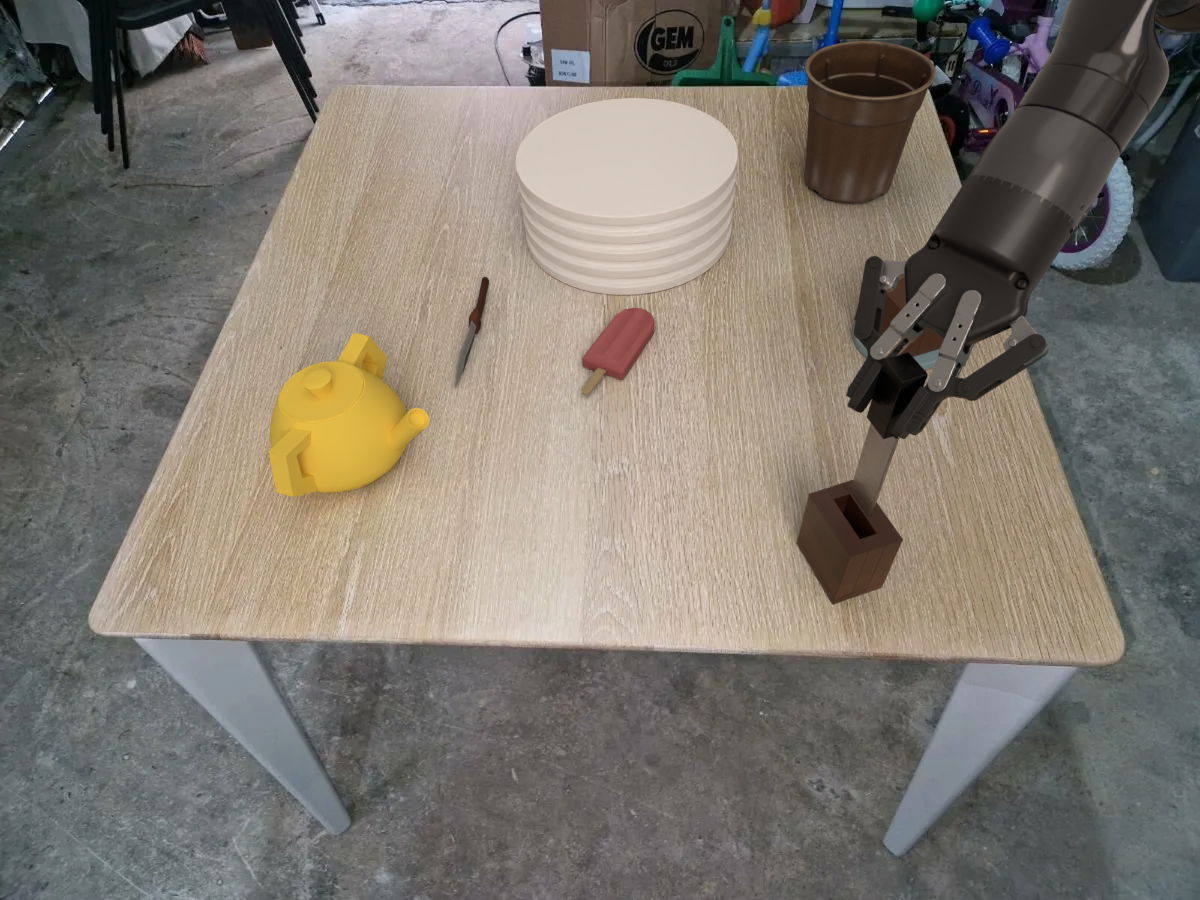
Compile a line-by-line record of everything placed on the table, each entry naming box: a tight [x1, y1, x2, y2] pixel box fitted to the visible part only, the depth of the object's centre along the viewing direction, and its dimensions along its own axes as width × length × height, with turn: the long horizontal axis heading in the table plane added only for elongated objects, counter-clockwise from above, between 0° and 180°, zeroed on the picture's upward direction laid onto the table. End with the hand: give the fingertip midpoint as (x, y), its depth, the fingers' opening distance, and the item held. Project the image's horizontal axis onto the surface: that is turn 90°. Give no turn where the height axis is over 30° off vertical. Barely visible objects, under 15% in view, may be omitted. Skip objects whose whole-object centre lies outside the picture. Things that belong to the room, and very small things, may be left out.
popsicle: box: [580, 307, 656, 396], centre depth 93 cm, size 5×2×15 cm
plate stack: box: [515, 97, 739, 296], centre depth 105 cm, size 28×28×12 cm
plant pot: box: [804, 40, 937, 204], centre depth 108 cm, size 16×16×16 cm
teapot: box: [267, 332, 430, 498], centre depth 81 cm, size 20×18×11 cm
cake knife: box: [850, 352, 929, 518], centre depth 60 cm, size 2×3×16 cm, turn 19°
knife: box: [454, 276, 490, 389], centre depth 95 cm, size 18×2×3 cm, turn 173°
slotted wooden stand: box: [851, 277, 944, 371], centre depth 90 cm, size 11×11×8 cm
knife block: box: [795, 479, 904, 605], centre depth 71 cm, size 5×7×8 cm
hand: (876, 421), depth 57 cm, fingers closed on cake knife, 3 cm apart
